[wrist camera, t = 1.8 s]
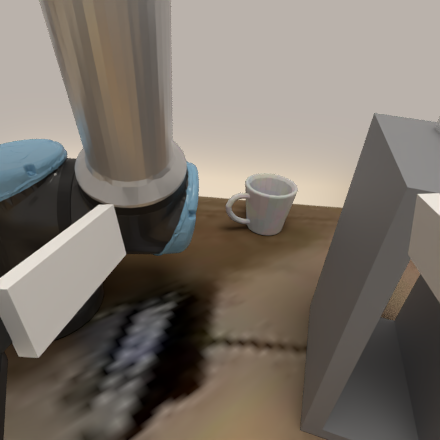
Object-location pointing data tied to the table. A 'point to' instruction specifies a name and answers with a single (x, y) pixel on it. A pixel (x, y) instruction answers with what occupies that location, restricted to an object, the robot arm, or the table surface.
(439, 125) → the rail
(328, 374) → the shelf
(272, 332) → the table surface
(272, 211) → the mug
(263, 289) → the table surface
